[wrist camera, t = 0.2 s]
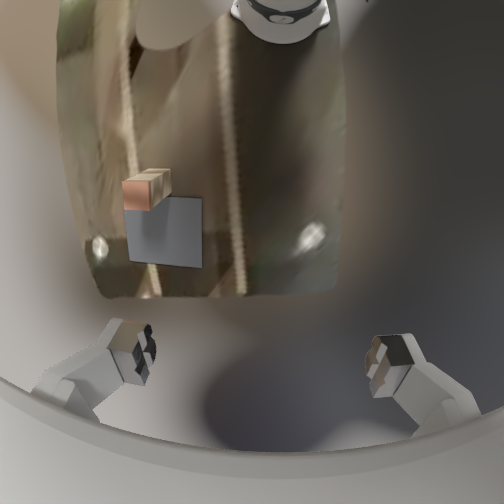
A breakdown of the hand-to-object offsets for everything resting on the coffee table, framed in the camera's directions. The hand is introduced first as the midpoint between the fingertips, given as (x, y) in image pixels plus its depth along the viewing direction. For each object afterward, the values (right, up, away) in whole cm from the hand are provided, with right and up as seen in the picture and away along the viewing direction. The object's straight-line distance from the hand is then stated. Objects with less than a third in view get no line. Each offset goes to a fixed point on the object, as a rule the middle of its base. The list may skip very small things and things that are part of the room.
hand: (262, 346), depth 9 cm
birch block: (-19, +18, +45) cm, 52 cm away
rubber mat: (-20, +8, +50) cm, 54 cm away
